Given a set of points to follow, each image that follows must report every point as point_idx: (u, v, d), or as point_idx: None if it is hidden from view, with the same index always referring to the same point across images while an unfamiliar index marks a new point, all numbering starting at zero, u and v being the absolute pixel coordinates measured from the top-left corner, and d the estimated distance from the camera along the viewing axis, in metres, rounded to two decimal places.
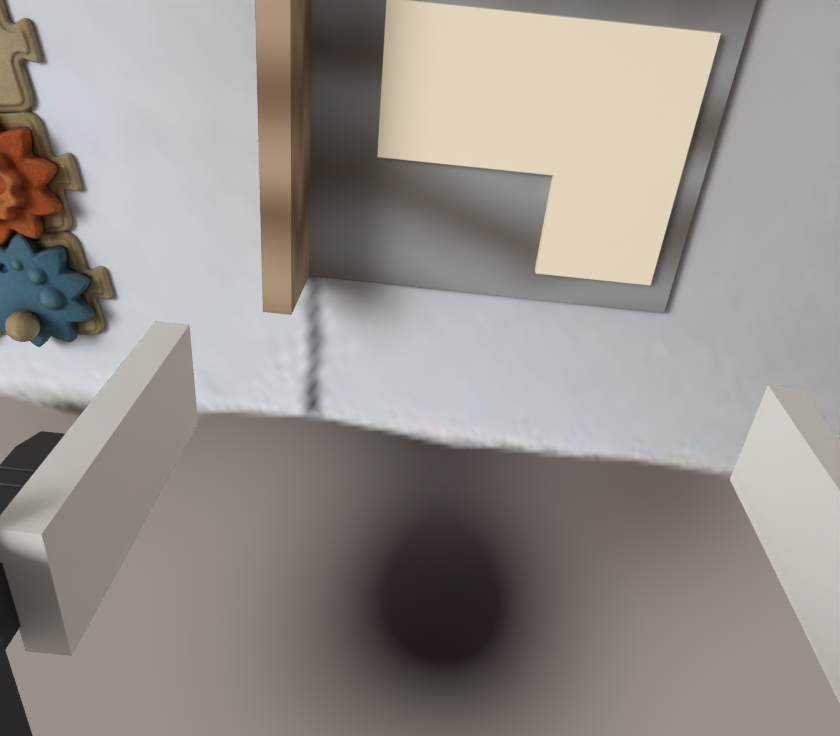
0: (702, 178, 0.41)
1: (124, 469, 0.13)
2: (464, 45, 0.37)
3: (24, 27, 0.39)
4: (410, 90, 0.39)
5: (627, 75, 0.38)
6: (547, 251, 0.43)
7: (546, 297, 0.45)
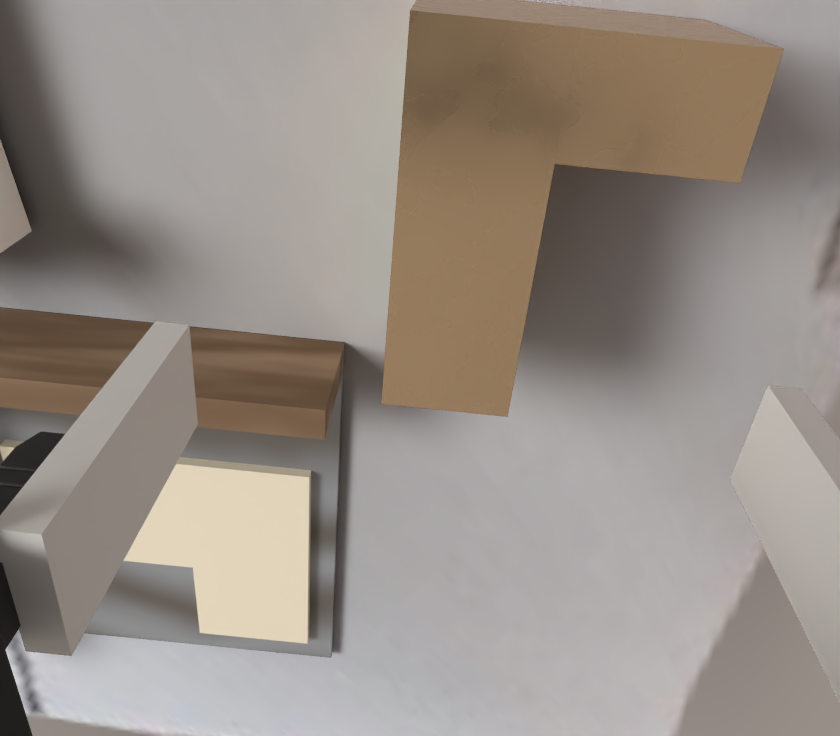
0: (333, 567, 0.44)
1: (124, 469, 0.13)
2: None
3: None
4: None
5: (235, 503, 0.41)
6: (205, 618, 0.46)
7: (220, 644, 0.48)
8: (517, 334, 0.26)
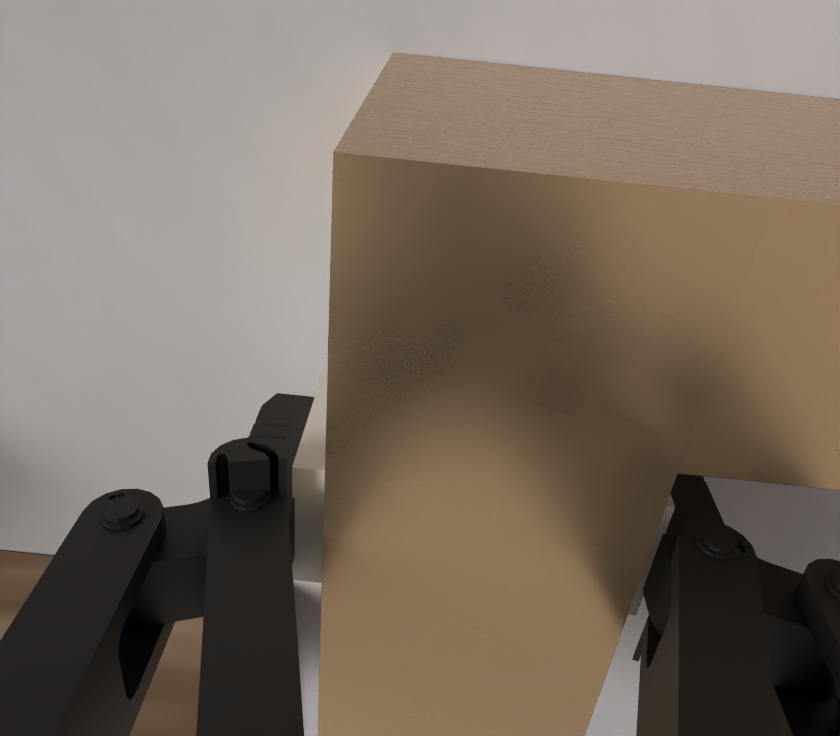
0: None
1: None
2: None
3: None
4: None
5: None
6: None
7: None
8: (574, 734, 0.13)
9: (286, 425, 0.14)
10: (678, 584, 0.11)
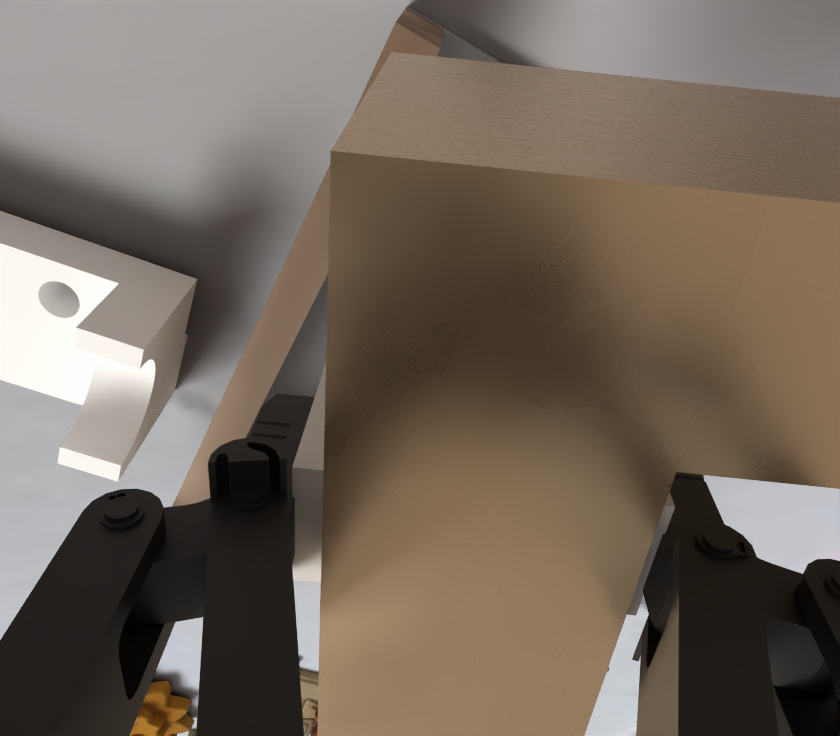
0: None
1: None
2: None
3: None
4: None
5: None
6: None
7: None
8: (574, 733, 0.13)
9: (286, 425, 0.14)
10: (678, 584, 0.11)
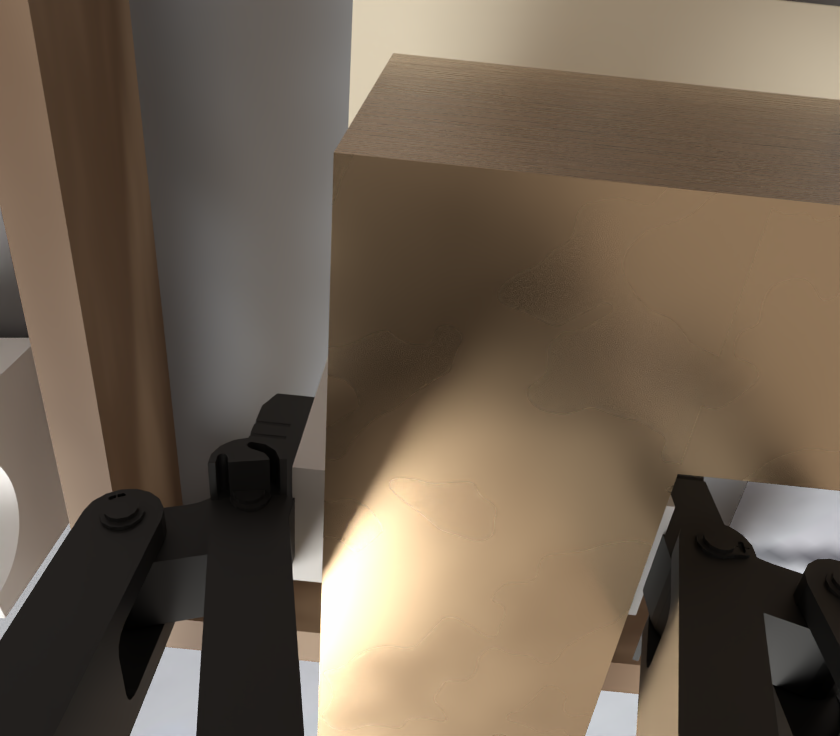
0: None
1: None
2: None
3: None
4: None
5: None
6: None
7: None
8: (574, 734, 0.13)
9: (286, 425, 0.14)
10: (678, 584, 0.11)
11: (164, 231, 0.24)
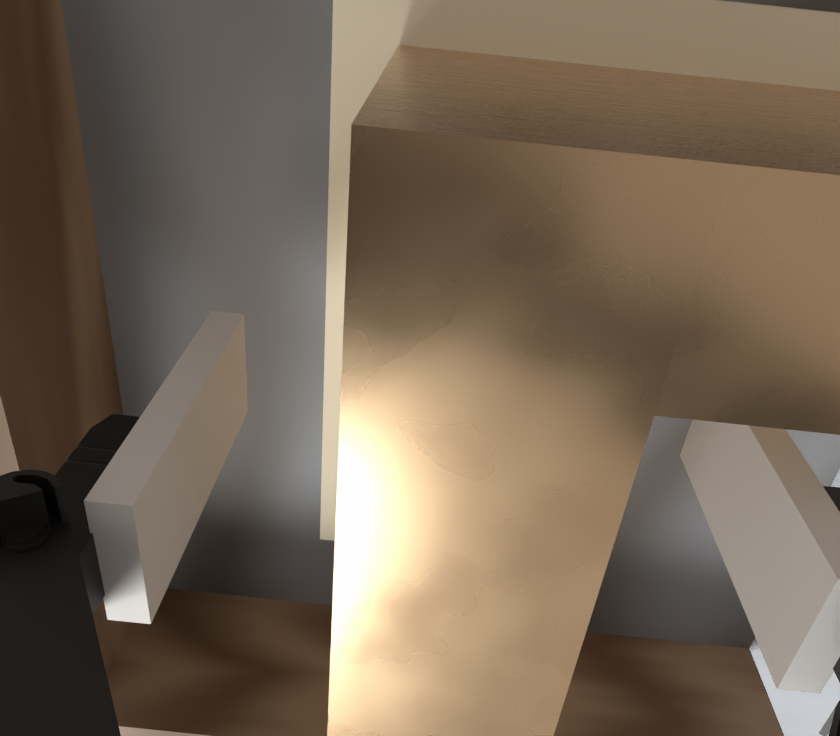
0: None
1: (193, 449, 0.14)
2: None
3: None
4: None
5: None
6: None
7: None
8: (565, 667, 0.15)
9: (111, 450, 0.13)
10: None
11: (116, 283, 0.20)
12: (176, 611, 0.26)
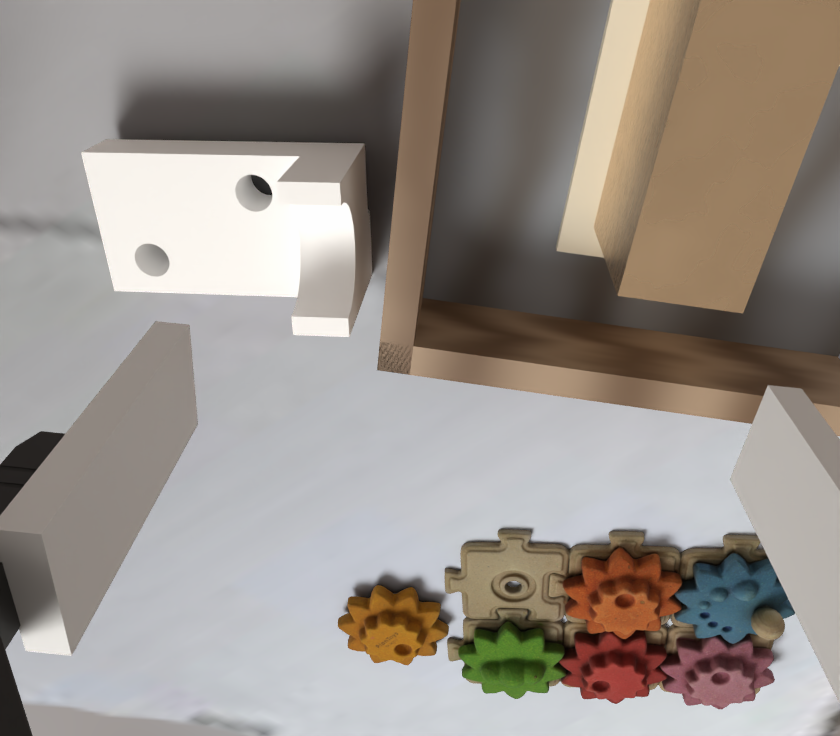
0: None
1: (124, 469, 0.13)
2: None
3: (504, 536, 0.47)
4: None
5: None
6: None
7: None
8: (772, 223, 0.27)
9: (34, 470, 0.12)
10: None
11: (462, 51, 0.32)
12: (446, 309, 0.38)
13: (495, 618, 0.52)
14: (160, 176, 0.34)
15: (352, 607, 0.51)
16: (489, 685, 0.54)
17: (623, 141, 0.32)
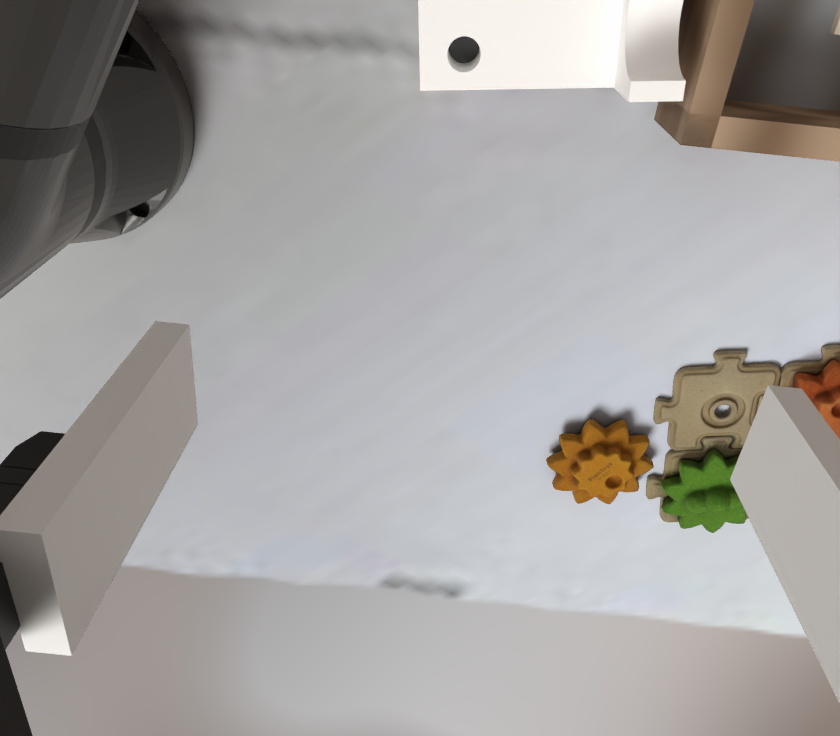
0: None
1: (124, 469, 0.13)
2: None
3: (721, 356, 0.50)
4: None
5: None
6: None
7: None
8: None
9: (34, 470, 0.12)
10: None
11: None
12: None
13: (699, 448, 0.54)
14: None
15: (566, 442, 0.53)
16: (689, 518, 0.56)
17: None
